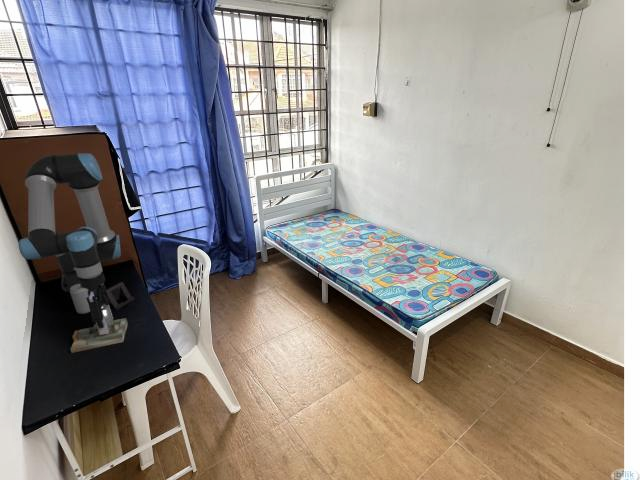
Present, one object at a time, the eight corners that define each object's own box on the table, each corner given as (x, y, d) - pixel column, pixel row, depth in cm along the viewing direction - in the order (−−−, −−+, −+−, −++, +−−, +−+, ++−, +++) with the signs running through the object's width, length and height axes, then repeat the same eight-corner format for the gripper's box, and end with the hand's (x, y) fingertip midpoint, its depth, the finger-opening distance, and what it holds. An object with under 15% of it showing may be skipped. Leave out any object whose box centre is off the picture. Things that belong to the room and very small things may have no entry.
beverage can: (86, 315, 140) (77, 291, 135) (73, 313, 141) (64, 289, 137) (98, 307, 146) (90, 283, 141) (85, 305, 147) (78, 282, 142)
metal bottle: (102, 330, 129) (94, 303, 124) (117, 327, 130) (109, 300, 126) (99, 337, 124) (90, 310, 120) (114, 334, 126) (106, 307, 121)
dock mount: (80, 332, 129) (78, 325, 128) (127, 323, 135) (125, 316, 133) (71, 352, 119) (68, 345, 118) (123, 341, 124) (120, 334, 123)
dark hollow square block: (117, 310, 143) (112, 294, 140) (105, 306, 146) (100, 290, 143) (135, 300, 151) (130, 284, 148) (122, 296, 154) (118, 280, 150)
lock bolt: (77, 335, 125) (75, 330, 124) (92, 332, 127) (90, 327, 126) (74, 341, 122) (72, 336, 121) (89, 338, 124) (88, 333, 123)
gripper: (85, 263, 125) (101, 313, 134) (69, 290, 107) (88, 346, 116) (108, 260, 128) (122, 309, 136) (95, 286, 110) (112, 341, 118)
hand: (106, 326), depth 126 cm, fingers open, 8 cm apart
